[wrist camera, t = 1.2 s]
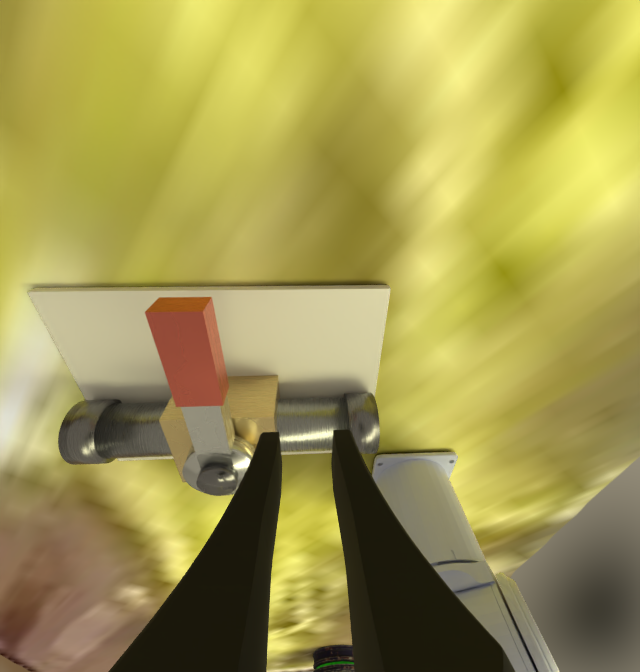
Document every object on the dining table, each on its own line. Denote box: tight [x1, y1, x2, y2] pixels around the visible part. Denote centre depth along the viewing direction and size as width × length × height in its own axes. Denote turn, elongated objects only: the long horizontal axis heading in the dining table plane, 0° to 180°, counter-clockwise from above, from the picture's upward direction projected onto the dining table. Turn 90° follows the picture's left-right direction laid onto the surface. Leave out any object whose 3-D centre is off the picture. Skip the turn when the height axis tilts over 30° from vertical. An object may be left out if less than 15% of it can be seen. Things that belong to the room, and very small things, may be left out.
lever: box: [145, 297, 255, 496], centre depth 17 cm, size 14×4×2 cm, turn 179°
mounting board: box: [27, 285, 390, 461], centre depth 23 cm, size 16×22×1 cm
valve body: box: [58, 375, 380, 482], centre depth 22 cm, size 6×21×5 cm, turn 89°
